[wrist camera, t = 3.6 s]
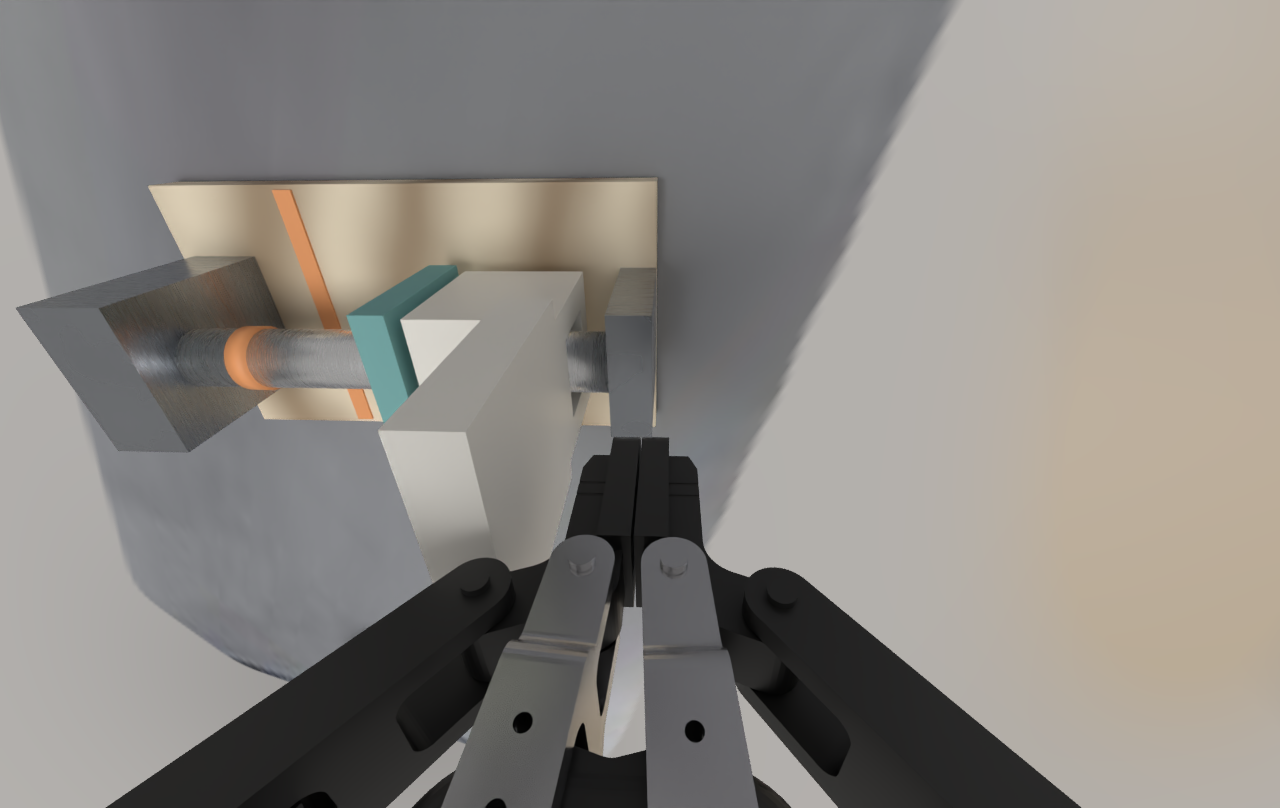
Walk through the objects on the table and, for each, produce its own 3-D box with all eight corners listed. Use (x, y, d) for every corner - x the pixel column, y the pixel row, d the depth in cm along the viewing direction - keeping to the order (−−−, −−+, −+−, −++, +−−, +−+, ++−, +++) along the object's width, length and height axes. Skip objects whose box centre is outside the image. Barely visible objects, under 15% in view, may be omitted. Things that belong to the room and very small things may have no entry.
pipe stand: (657, 177, 21) (650, 209, 13) (656, 411, 27) (651, 521, 20) (178, 181, 22) (-69, 213, 15) (283, 405, 28) (147, 505, 21)
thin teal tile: (456, 265, 20) (382, 315, 15) (482, 389, 23) (429, 466, 18) (428, 265, 20) (345, 315, 15) (458, 388, 23) (398, 465, 18)
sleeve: (581, 254, 19) (465, 432, 8) (592, 401, 23) (522, 661, 12) (461, 254, 20) (197, 426, 9) (491, 400, 23) (331, 652, 12)
